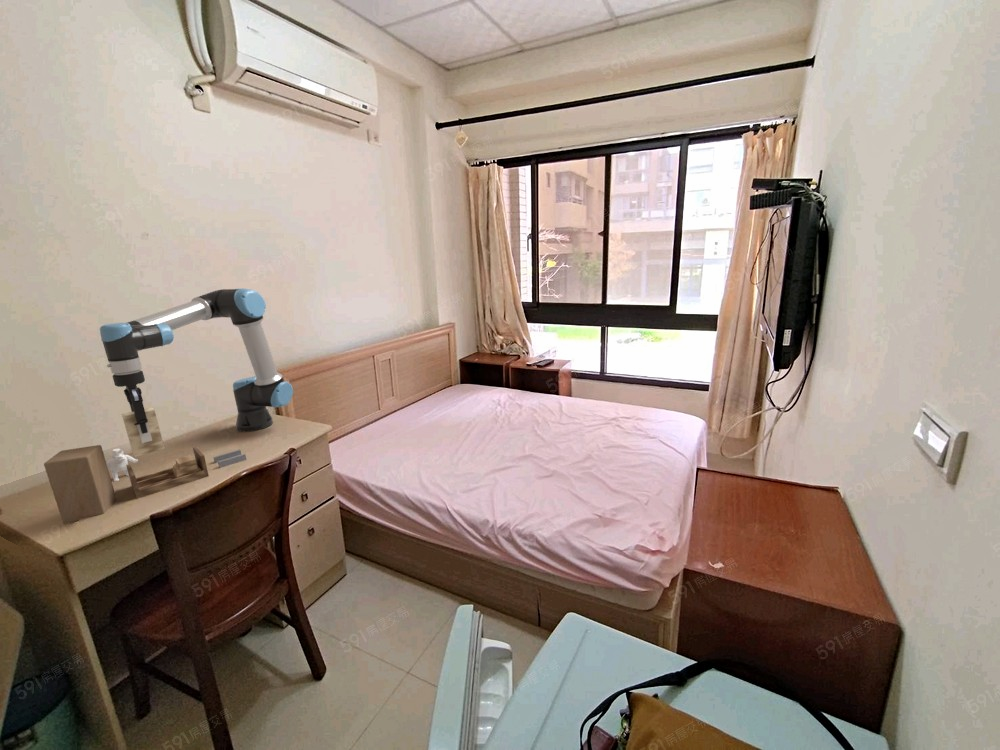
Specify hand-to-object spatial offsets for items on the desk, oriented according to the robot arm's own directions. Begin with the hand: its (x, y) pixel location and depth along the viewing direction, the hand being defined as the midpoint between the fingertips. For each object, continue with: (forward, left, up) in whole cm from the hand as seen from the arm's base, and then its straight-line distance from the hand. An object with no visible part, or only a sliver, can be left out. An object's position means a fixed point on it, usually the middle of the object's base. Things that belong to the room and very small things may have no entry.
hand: (145, 439), depth 144 cm
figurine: (+7, -17, -18) cm, 26 cm away
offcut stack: (-9, 0, -17) cm, 19 cm away
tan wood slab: (0, 0, -4) cm, 4 cm away
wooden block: (+17, +3, -18) cm, 25 cm away
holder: (-23, -2, -18) cm, 29 cm away
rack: (-4, 0, -18) cm, 18 cm away
